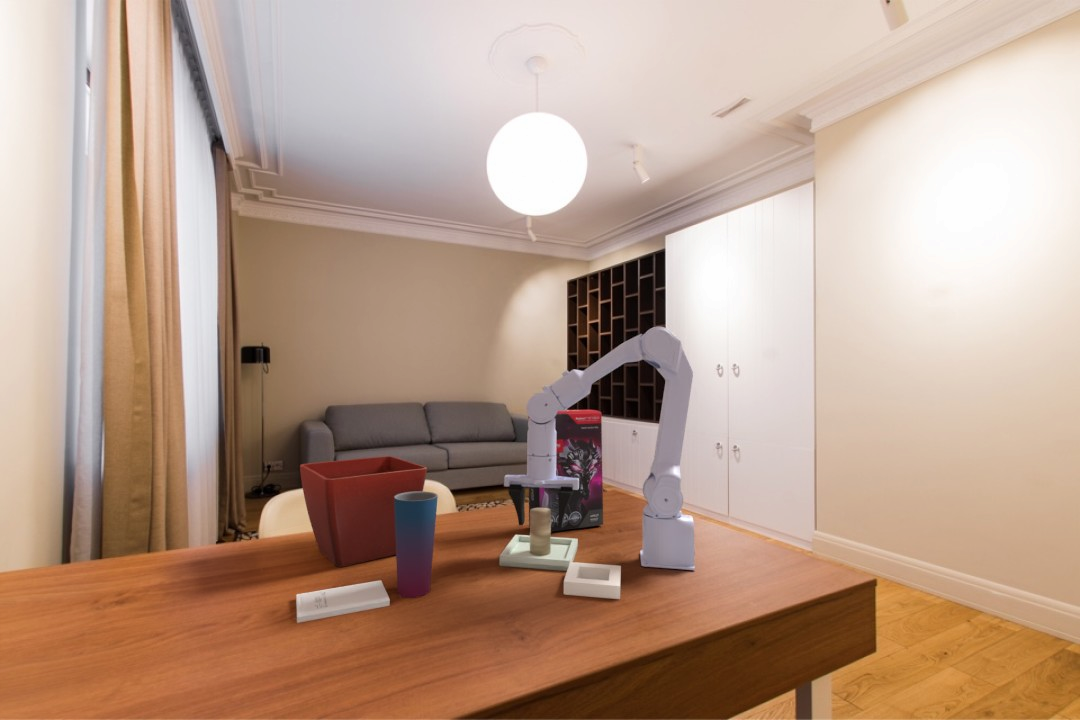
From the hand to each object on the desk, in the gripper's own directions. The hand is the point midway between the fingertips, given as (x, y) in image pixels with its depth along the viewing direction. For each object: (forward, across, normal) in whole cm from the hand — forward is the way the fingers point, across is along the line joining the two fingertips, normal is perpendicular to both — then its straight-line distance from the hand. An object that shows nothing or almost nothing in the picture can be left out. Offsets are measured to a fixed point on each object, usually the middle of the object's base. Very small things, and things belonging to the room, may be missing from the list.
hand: (540, 525), depth 95 cm
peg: (+5, 0, 0) cm, 5 cm away
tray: (+6, 0, 0) cm, 6 cm away
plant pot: (+6, -35, -5) cm, 36 cm away
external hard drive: (+7, -26, -26) cm, 37 cm away
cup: (+6, -17, -20) cm, 27 cm away
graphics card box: (+6, +2, +21) cm, 22 cm away
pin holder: (+6, +11, -12) cm, 17 cm away
